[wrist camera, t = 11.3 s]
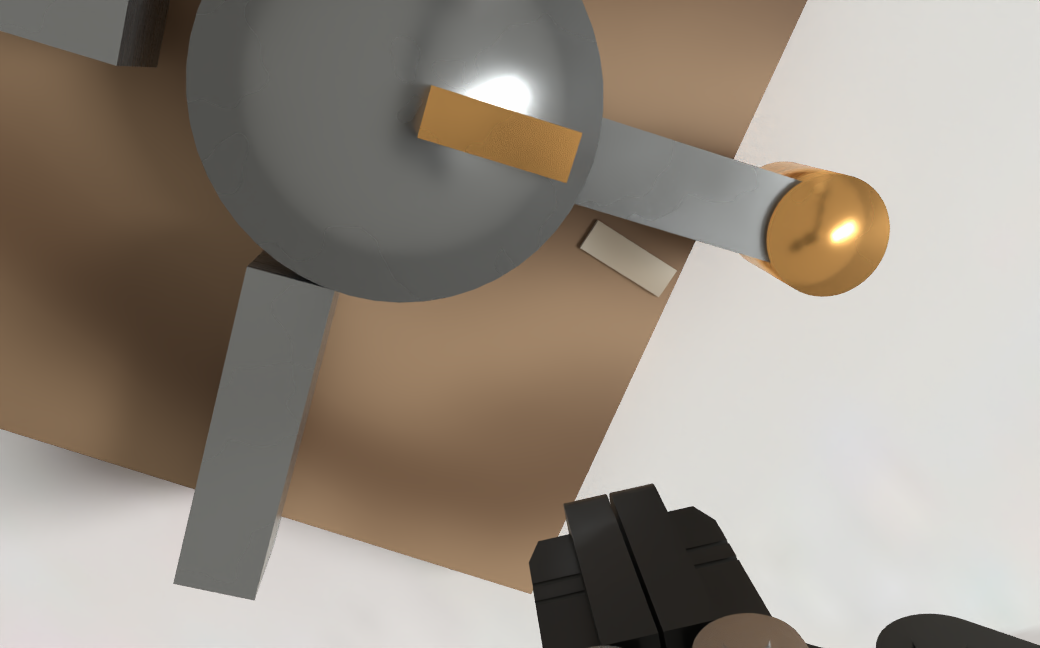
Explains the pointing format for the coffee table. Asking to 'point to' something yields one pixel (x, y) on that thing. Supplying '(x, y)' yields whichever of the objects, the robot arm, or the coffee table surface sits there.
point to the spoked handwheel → (416, 192)
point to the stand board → (344, 297)
